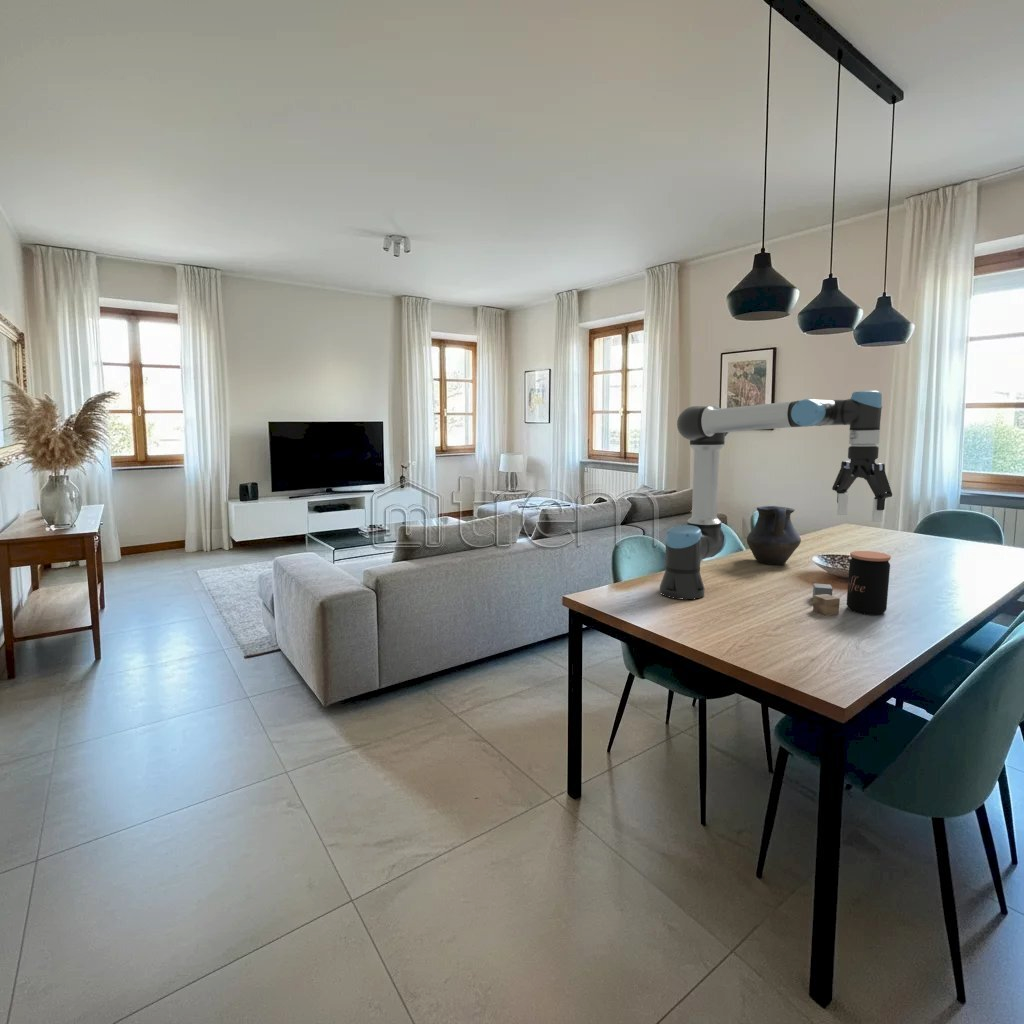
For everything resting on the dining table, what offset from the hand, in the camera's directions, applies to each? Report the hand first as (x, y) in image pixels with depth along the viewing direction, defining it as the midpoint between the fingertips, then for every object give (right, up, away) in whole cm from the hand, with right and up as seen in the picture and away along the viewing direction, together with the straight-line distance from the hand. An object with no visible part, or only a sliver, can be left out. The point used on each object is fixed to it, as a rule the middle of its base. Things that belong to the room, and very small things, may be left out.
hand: (858, 518), depth 168 cm
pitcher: (+8, -20, +73) cm, 76 cm away
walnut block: (-4, -30, +10) cm, 32 cm away
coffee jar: (+9, -29, +11) cm, 33 cm away
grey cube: (+1, -28, +22) cm, 35 cm away
